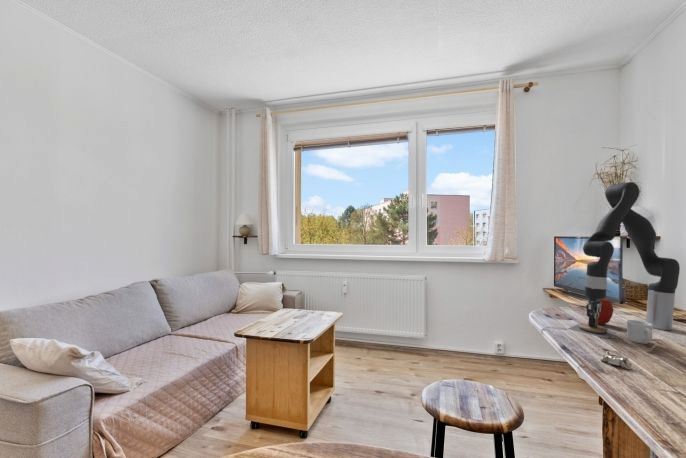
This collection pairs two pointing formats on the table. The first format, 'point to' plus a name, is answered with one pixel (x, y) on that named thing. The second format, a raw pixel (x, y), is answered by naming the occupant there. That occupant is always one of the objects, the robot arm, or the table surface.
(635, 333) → the cup
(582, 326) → the lid
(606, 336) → the mat
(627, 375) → the table surface
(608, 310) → the apple
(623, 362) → the ornament
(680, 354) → the table surface
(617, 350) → the table surface
